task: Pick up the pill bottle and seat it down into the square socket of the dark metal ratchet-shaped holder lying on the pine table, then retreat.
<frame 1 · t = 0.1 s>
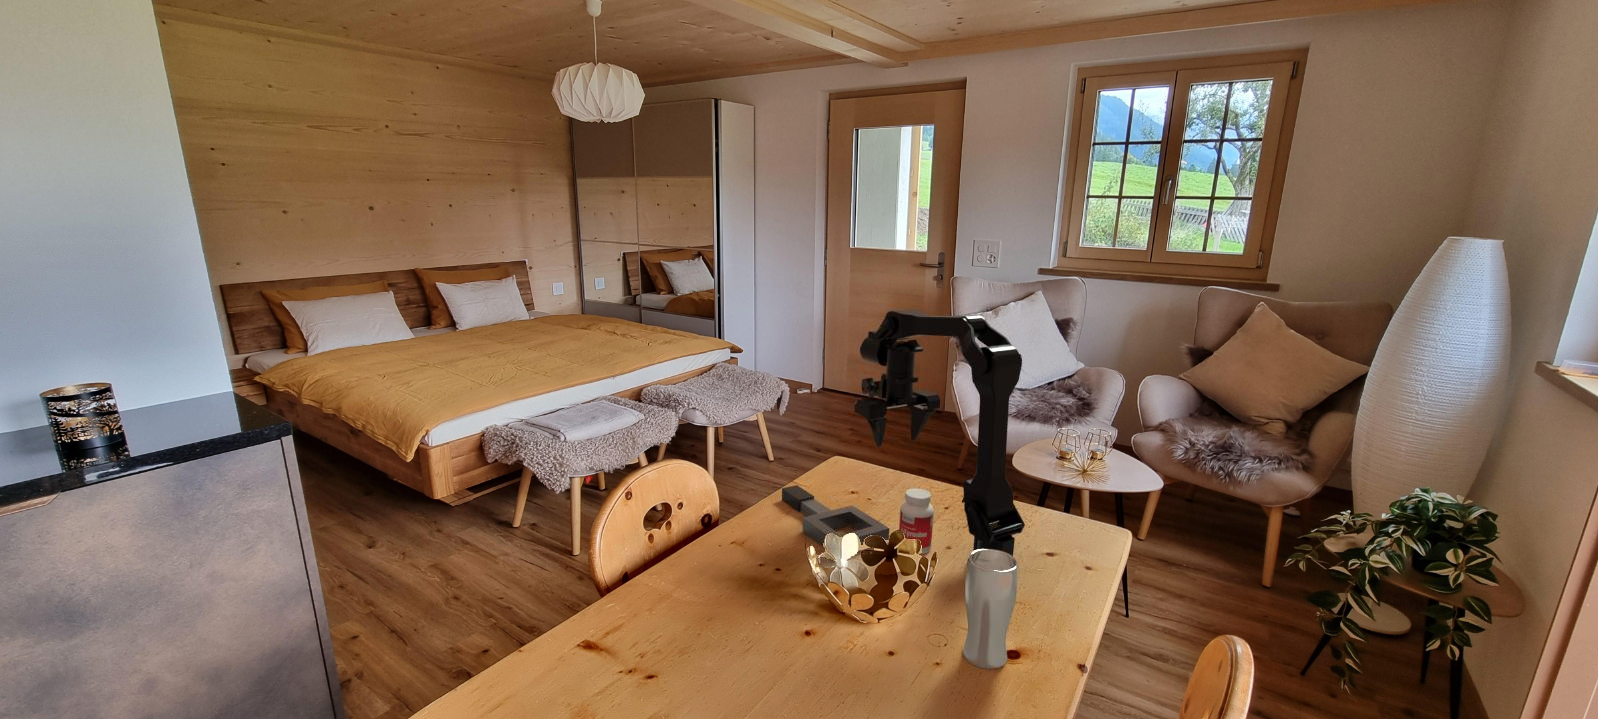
hand: (896, 443, 145), 15 cm above the table, fingers open, 9 cm apart
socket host: (844, 537, 134), on the table
pill bottle: (914, 548, 130), on the table
beer glass: (984, 656, 99), on the table
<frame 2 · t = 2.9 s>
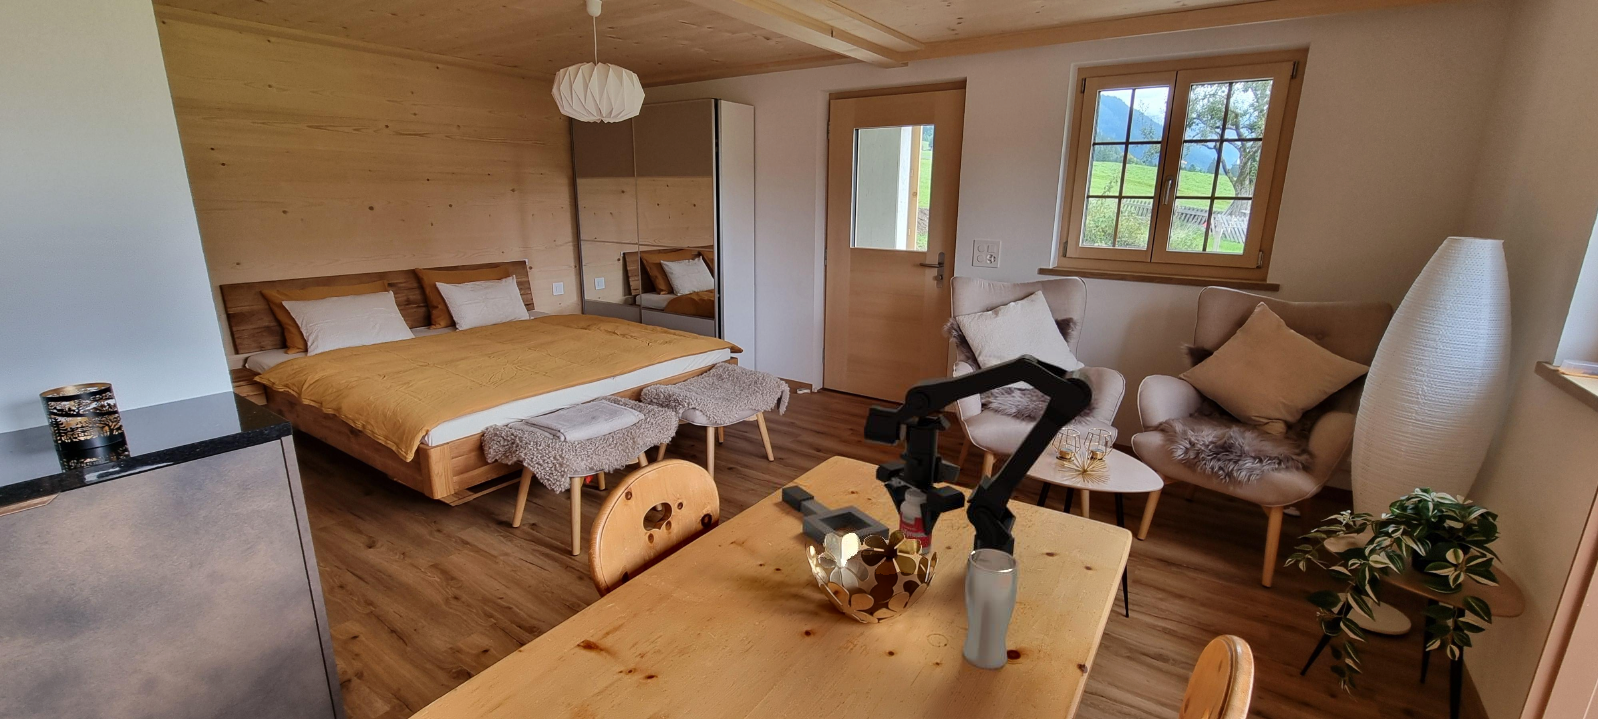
hand: (915, 528, 129), 4 cm above the table, fingers closed on pill bottle, 6 cm apart
pill bottle: (914, 548, 130), on the table, touching gripper
everything else where it was.
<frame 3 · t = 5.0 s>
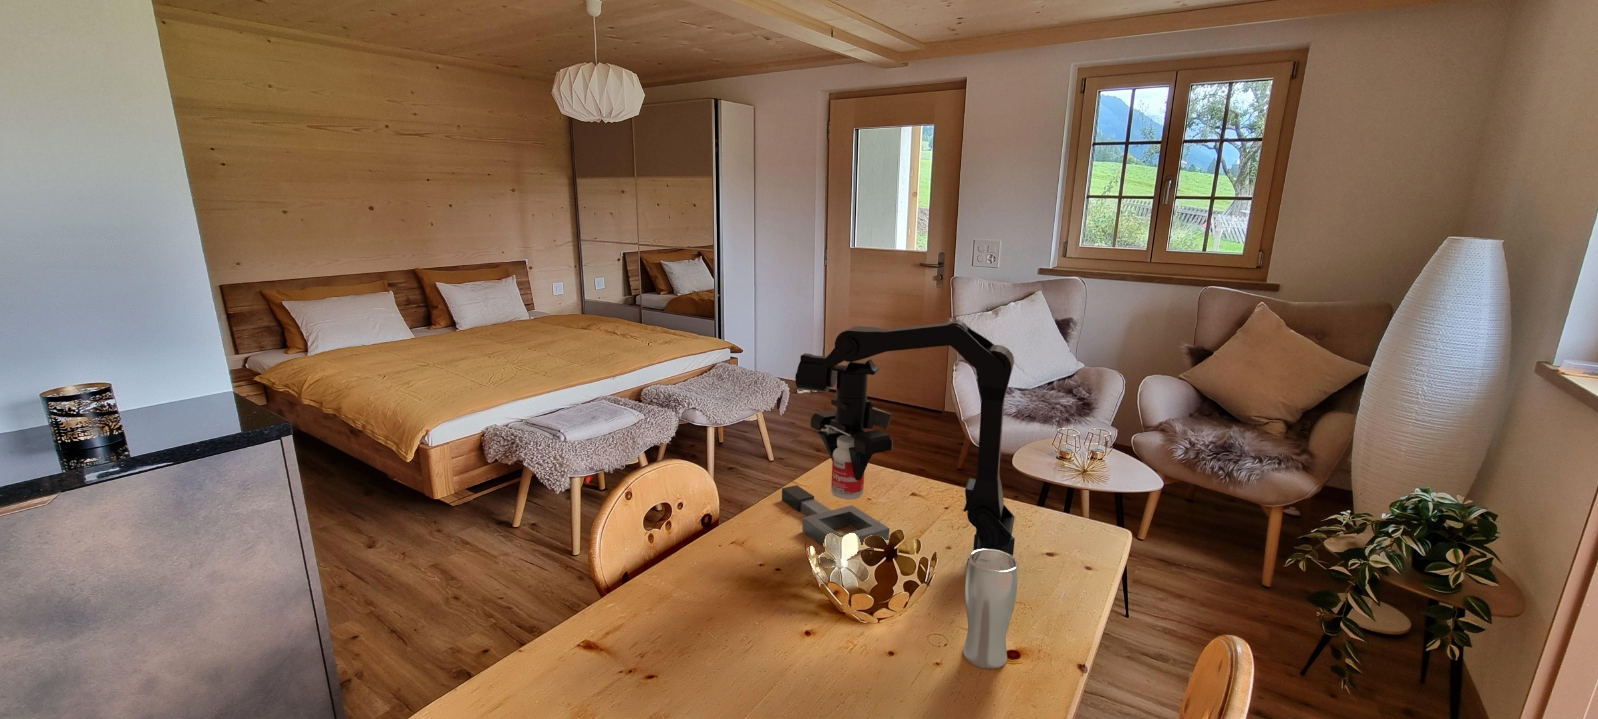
hand: (848, 474, 131), 13 cm above the table, fingers closed on pill bottle, 6 cm apart
pill bottle: (847, 494, 132), point 9 cm above the table, touching gripper
everything else where it was.
when the fingers open (6 cm above the table, at t = 7.1 s): pill bottle drops 2 cm, resting in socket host.
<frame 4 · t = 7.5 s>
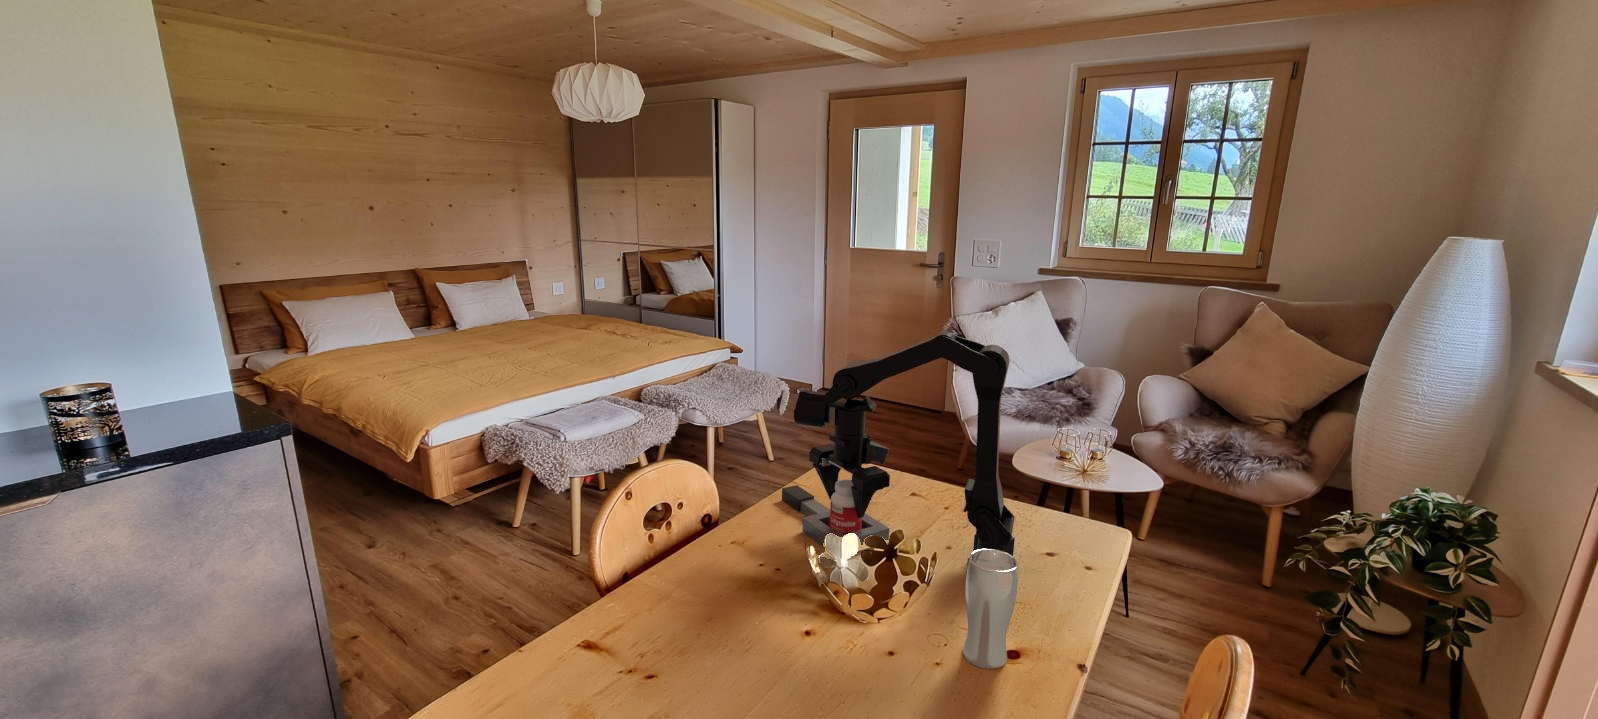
hand: (846, 508, 133), 6 cm above the table, fingers open, 9 cm apart
pill bottle: (845, 538, 134), resting in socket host
everything else where it was.
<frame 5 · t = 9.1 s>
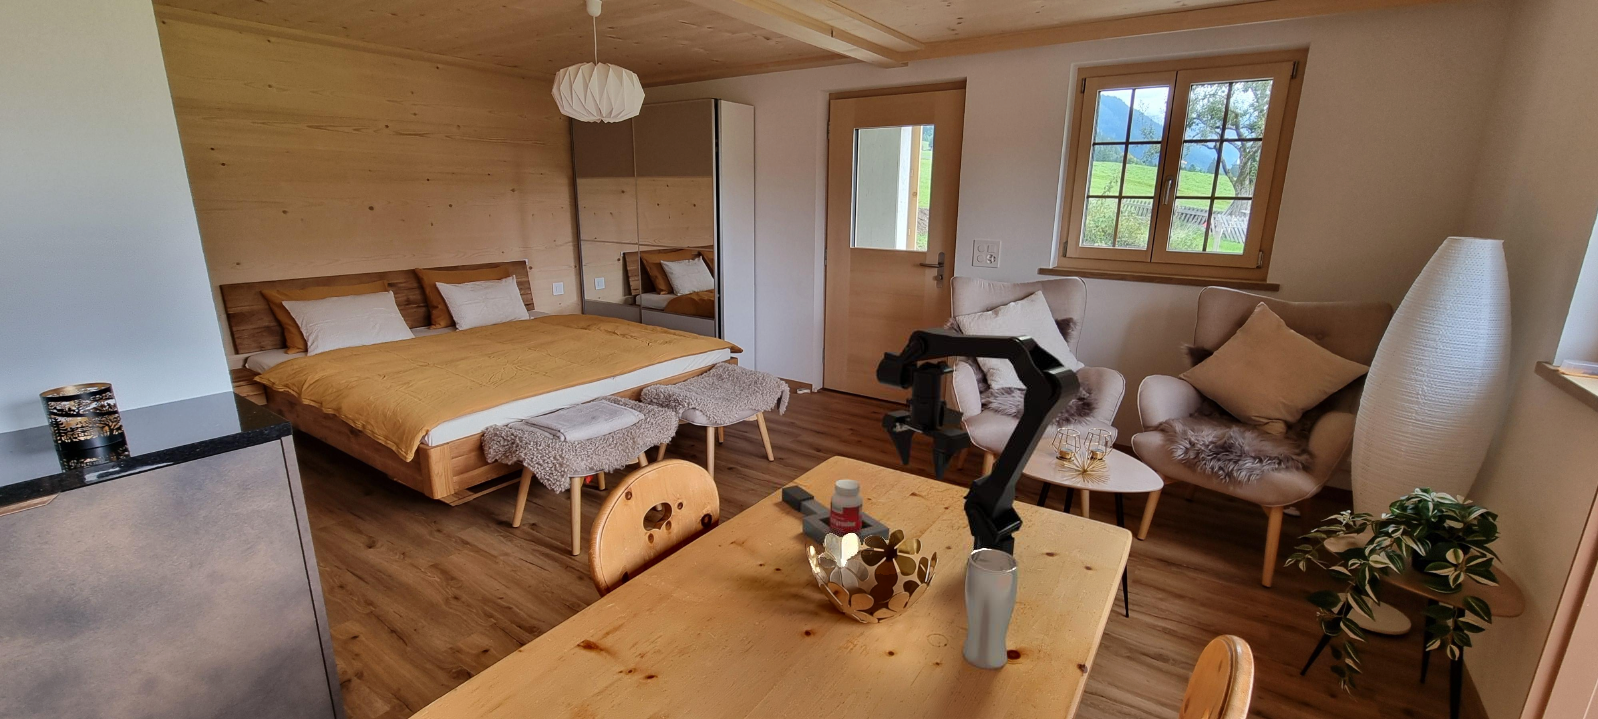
hand: (922, 472, 134), 13 cm above the table, fingers open, 9 cm apart
nothing on the table moved.
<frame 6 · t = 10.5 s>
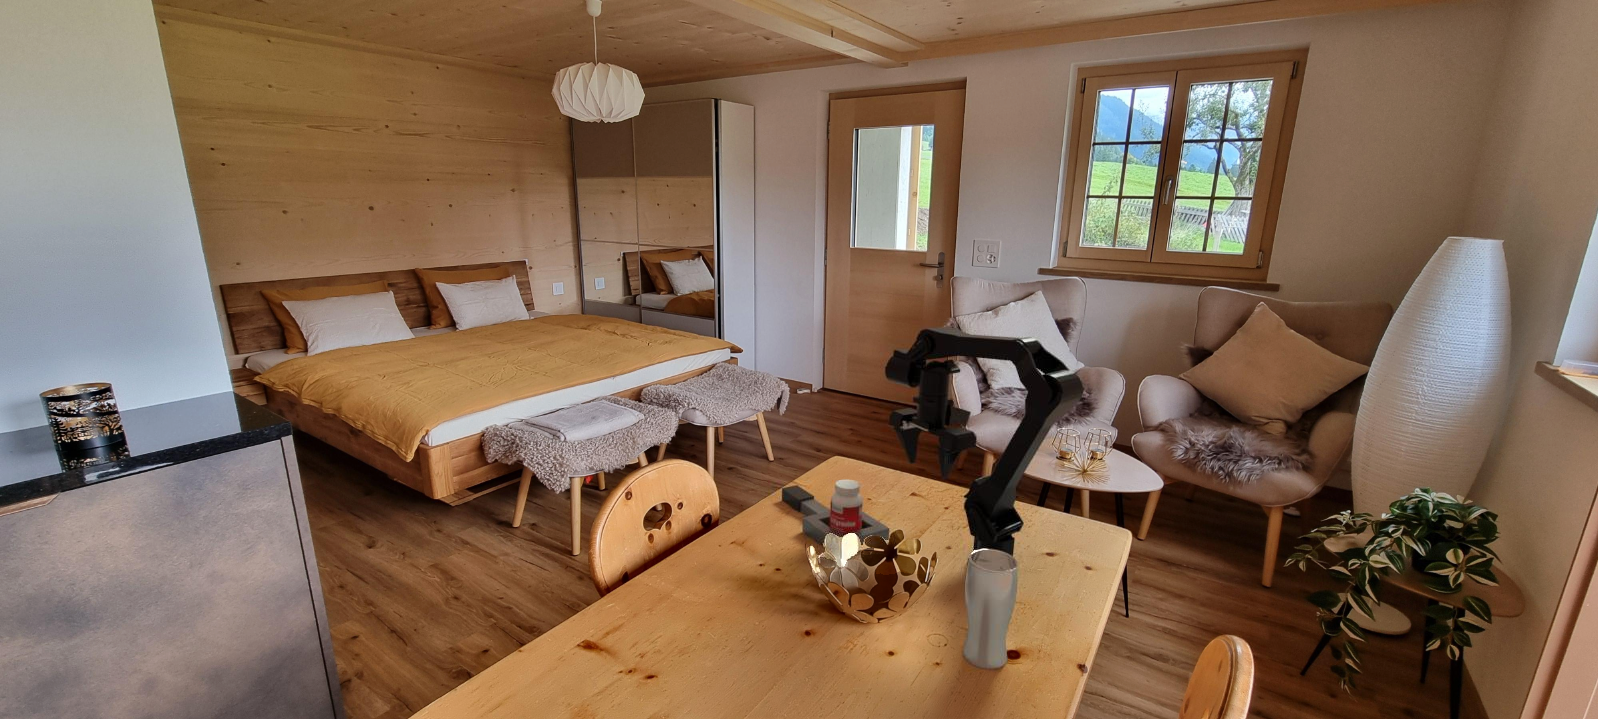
hand: (928, 470, 134), 13 cm above the table, fingers open, 9 cm apart
nothing on the table moved.
at the end: pill bottle 0.1 cm from the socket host (horizontally); pill bottle resting in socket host; pill bottle tilted 0° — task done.
